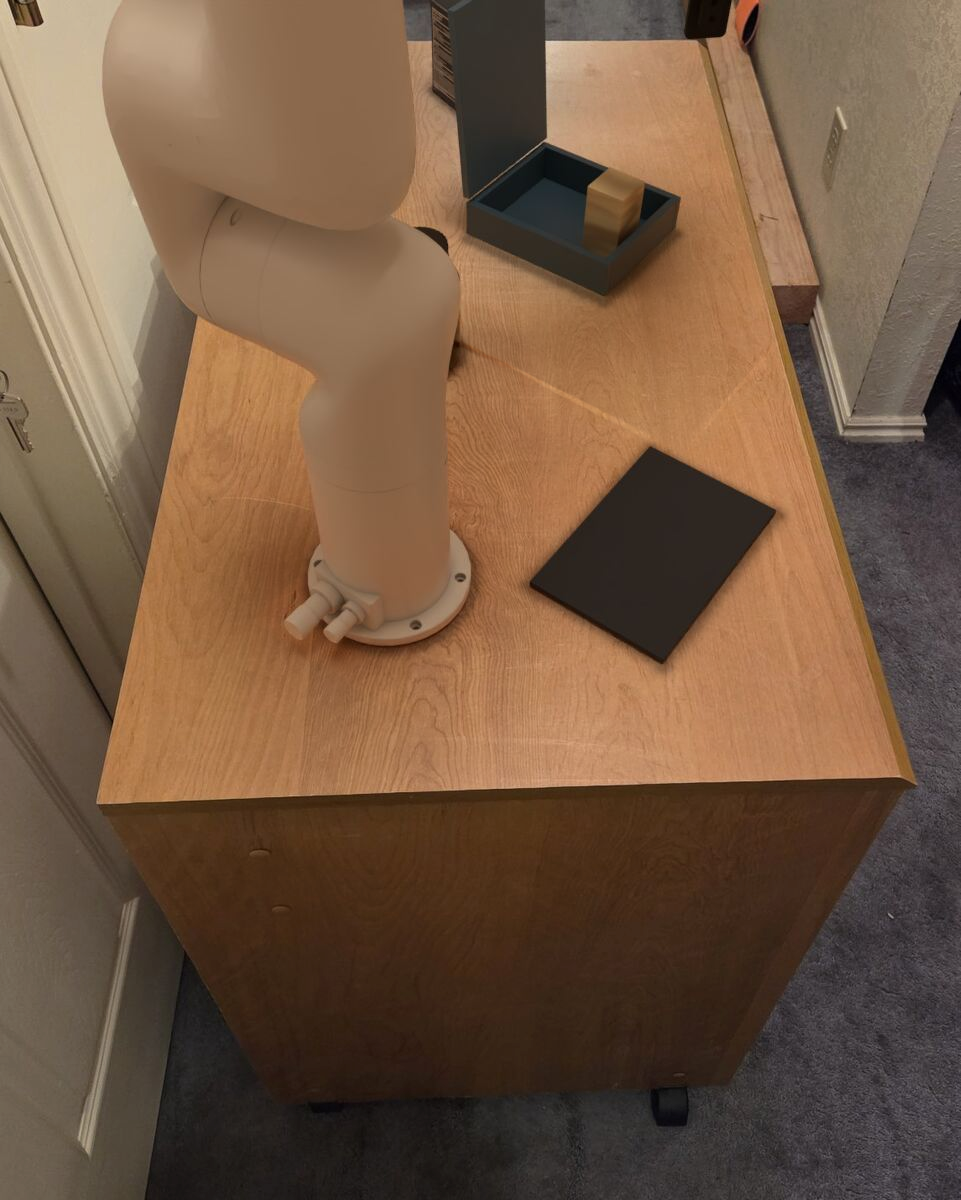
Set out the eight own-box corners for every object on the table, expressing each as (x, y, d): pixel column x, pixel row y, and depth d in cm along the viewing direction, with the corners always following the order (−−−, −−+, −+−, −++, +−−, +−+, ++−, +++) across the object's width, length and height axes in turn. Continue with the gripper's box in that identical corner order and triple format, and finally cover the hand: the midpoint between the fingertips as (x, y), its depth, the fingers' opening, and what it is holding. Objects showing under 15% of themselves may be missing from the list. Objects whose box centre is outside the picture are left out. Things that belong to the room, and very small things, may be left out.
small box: (527, 114, 120) (531, 20, 112) (480, 131, 118) (481, 37, 109) (475, 74, 125) (475, -19, 117) (430, 90, 123) (426, -3, 115)
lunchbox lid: (544, -47, 95) (537, -48, 95) (454, 11, 89) (447, 9, 89) (547, 138, 109) (541, 136, 109) (469, 199, 102) (462, 197, 103)
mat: (662, 664, 77) (663, 659, 76) (529, 585, 81) (529, 581, 80) (774, 514, 85) (776, 509, 85) (649, 450, 89) (650, 445, 89)
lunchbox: (674, 234, 107) (681, 197, 104) (603, 302, 101) (608, 265, 97) (541, 178, 113) (543, 141, 109) (466, 239, 106) (466, 202, 103)
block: (615, 264, 103) (623, 200, 97) (581, 249, 104) (587, 185, 99) (636, 244, 105) (645, 181, 99) (602, 229, 106) (610, 166, 100)
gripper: (648, -301, 74) (621, -42, 88) (708, -212, 64) (667, 64, 78) (751, -305, 74) (708, -46, 88) (826, -218, 65) (764, 58, 79)
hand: (689, 5), depth 83 cm, fingers open, 9 cm apart
